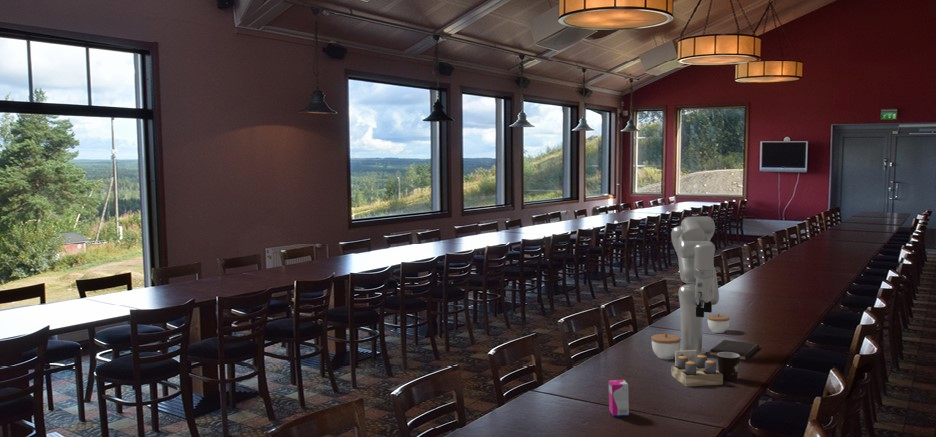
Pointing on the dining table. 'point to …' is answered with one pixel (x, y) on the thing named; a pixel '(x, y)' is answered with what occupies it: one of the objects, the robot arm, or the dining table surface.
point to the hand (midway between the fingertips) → (703, 314)
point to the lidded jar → (718, 323)
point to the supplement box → (618, 398)
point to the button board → (697, 377)
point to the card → (690, 354)
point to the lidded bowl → (665, 345)
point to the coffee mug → (728, 365)
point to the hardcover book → (735, 348)
